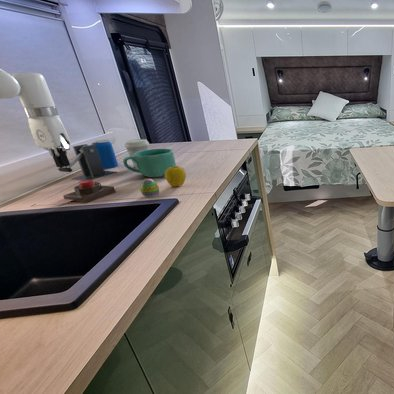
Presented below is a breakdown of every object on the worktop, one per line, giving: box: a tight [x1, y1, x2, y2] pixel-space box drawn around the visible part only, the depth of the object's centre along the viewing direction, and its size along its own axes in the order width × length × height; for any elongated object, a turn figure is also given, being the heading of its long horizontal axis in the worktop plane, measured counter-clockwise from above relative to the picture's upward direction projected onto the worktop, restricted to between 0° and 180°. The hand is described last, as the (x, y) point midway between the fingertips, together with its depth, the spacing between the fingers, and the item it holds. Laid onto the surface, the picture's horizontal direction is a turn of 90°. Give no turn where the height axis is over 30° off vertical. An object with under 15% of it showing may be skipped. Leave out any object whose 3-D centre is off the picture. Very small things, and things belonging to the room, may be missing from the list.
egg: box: [139, 178, 160, 199], centre depth 93 cm, size 5×5×6 cm
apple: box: [164, 165, 187, 187], centre depth 102 cm, size 6×6×8 cm
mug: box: [122, 148, 177, 179], centre depth 113 cm, size 17×13×10 cm
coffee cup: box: [124, 138, 150, 169], centre depth 123 cm, size 8×8×12 cm
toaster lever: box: [57, 144, 86, 173], centre depth 107 cm, size 12×5×2 cm, turn 165°
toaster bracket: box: [70, 143, 118, 181], centre depth 111 cm, size 11×9×13 cm
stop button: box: [78, 179, 95, 188], centre depth 93 cm, size 4×4×2 cm
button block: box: [62, 181, 117, 205], centre depth 94 cm, size 10×8×4 cm
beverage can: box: [91, 139, 119, 170], centre depth 123 cm, size 6×6×12 cm
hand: (63, 166), depth 103 cm, fingers closed
